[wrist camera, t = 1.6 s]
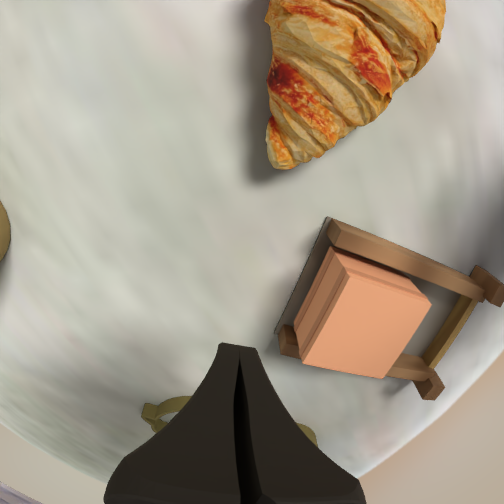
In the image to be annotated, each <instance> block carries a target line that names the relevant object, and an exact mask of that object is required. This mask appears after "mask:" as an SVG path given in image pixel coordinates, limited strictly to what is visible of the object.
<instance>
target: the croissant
mask: <svg viewBox="0 0 504 504" xmlns="http://www.w3.org/2000/svg"><path fill="white" fill-rule="evenodd" d="M445 12H446V4H445V0H270V2H269V8H268V11H267V14H266V17H265V20H264V21H265V22H266V23H268V24H269V26H270V31H271V40H272V47H273V54H272V61H271V65H270V69H269V73H268V77H267V86H268V94H269V96H270V100H269V106H270V112H271V113H272V116H271V117H270V118H269V122H268V125H267V130H266V140H265V141H266V143H267V154H268V158H269V161H270V162H271V164H272V166H273V167H274V168H276V169H281V170H286V169H292V168H293V167H295V166H297V165H299V164H300V162H304V163H305V162H309V161H310V160H311V159H312V157H316V158H320V157H321V156H322V155H323V154H324V153H325V151H327V150H328V149H330V148H332V147H334V146H335V143H336V141H337V140H339V139H340V138H344V137H345V136H346V135H347V134H348V133H349V132H351V131H352V130H354V129H356V127H357V126H365V125H367V124H368V123H370V122H372V121H374V120H375V119H376V118H377V117H378V115H380V114H381V113H382V112H383V111H384V110H385V109H386V108H387V106H388V104H389V103H390V102H391V101H390V100H391V99H392V94H393V92H394V91H395V90H396V89H398V88H399V87H400V86H401V85H402V84H403V83H404V82H407V81H408V80H409V78H411V77H413V76H415V75H416V74H417V73H418V72H419V71H420V70H421V69H422V68H423V67H424V66H425V65H426V63H427V62H428V61H429V59H430V57H431V56H432V55H433V53H434V51H435V49H436V44H437V43H440V39H441V31H442V29H443V26H444V16H445Z"/></svg>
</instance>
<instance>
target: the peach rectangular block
mask: <svg viewBox="0 0 504 504" xmlns="http://www.w3.org/2000/svg"><path fill="white" fill-rule="evenodd" d="M431 305H432V304H431V303H430V302H429V301H428V298H427V297H426V296H425V295H424V294H422V293H421V292H420V291H419V290H418V288H417V287H416V286H415V285H414V284H413V283H412V282H411V279H410V278H409V277H408V276H406V275H405V274H404V273H402V272H400V271H397V270H394V269H392V268H389V267H386V266H384V265H381V264H378V263H376V262H373V261H370V260H368V259H365V258H362V257H360V256H357V255H354V254H351V253H349V252H346V251H343V250H340V249H338V248H335V247H332V246H330V247H329V249H328V252H327V254H326V256H325V258H324V260H323V262H322V265H321V267H320V269H319V271H318V273H317V275H316V277H315V279H314V282H313V284H312V286H311V288H310V290H309V292H308V294H307V296H306V298H305V300H304V302H303V304H302V306H301V308H300V310H299V312H298V314H297V316H296V318H295V320H294V331H295V333H296V335H297V340H298V345H299V349H300V350H299V355H300V357H301V359H302V363H303V364H307V365H312V366H317V367H321V368H326V369H331V370H336V371H341V372H347V373H352V374H357V375H363V376H369V377H375V378H381V379H383V378H384V376H385V375H386V373H387V372H388V371H389V369H390V368H391V367H392V365H393V364H394V362H395V361H396V360H397V358H398V357H399V355H400V354H401V352H402V351H403V349H404V348H405V346H406V345H407V343H408V342H409V340H410V339H411V337H412V336H413V334H414V333H415V331H416V330H417V328H418V326H419V325H420V323H421V322H422V320H423V318H424V317H425V315H426V314H427V312H428V310H429V309H430V307H431Z"/></svg>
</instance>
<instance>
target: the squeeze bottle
mask: <svg viewBox="0 0 504 504" xmlns="http://www.w3.org/2000/svg"><path fill="white" fill-rule="evenodd" d="M9 242H10V223H9V220H8V216H7V213H6V210H5V208H4V207H3V205H2V203H1V201H0V261H1V260H2V258H3V256H4V255H5V253H6V251H7V250H8V246H9Z"/></svg>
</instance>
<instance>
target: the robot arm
mask: <svg viewBox="0 0 504 504" xmlns="http://www.w3.org/2000/svg"><path fill="white" fill-rule="evenodd" d="M104 503H105V504H366V500H365V495H364V492H363V490H362V487H361V485H360V482H359V480H358V479H357V478H355V477H354V476H352V475H351V474H349V473H348V472H347V471H345V470H344V469H342V468H341V467H340V466H338V465H337V464H336V463H334V462H333V461H332V460H331V459H330V458H329V457H327V456H326V455H325V454H324V453H323V452H322V451H321V450H320V449H319V448H318V447H317V446H316V445H315V444H314V443H313V442H312V441H311V440H310V439H309V438H308V437H307V436H306V435H305V433H304V432H303V431H302V430H301V429H300V427H299V426H298V425H297V424H296V422H295V421H294V420H293V418H292V417H291V416H290V414H289V413H288V411H287V410H286V408H285V407H284V405H283V403H282V402H281V400H280V399H279V397H278V395H277V393H276V392H275V390H274V388H273V386H272V384H271V382H270V380H269V378H268V376H267V374H266V372H265V369H264V367H263V365H262V362H261V360H260V357H259V355H258V352H257V350H256V349H255V348H252V347H245V346H240V345H234V344H228V343H223V342H222V343H220V344H219V345H218V350H217V354H216V357H215V359H214V361H213V363H212V365H211V367H210V369H209V371H208V373H207V374H206V376H205V378H204V380H203V381H202V383H201V384H200V386H199V387H198V388H197V390H196V391H195V393H194V394H193V396H192V397H191V398H190V399H189V401H188V402H187V403H186V404H185V406H184V407H183V408H182V409H181V410H180V411H179V412H178V413H177V414H176V416H175V417H174V418H173V419H172V420H171V421H170V422H169V423H168V424H167V425H166V426H165V427H163V428H162V429H161V430H160V431H159V432H158V433H156V434H155V435H154V436H153V437H152V438H151V439H149V440H148V441H147V442H146V443H144V444H143V445H141V446H140V447H139V448H137V449H136V450H134V451H133V452H131V453H130V454H128V455H127V456H125V457H124V458H123V460H122V461H121V462H120V464H119V465H118V466H117V468H116V469H115V471H114V472H113V474H112V476H111V478H110V480H109V482H108V484H107V487H106V491H105V494H104ZM0 504H42V503H40V502H38V501H36V500H34V499H32V498H30V497H28V496H26V495H24V494H22V493H20V492H18V491H16V490H14V489H13V488H11V487H9V486H7V485H5V484H4V483H2V482H0Z"/></svg>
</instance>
